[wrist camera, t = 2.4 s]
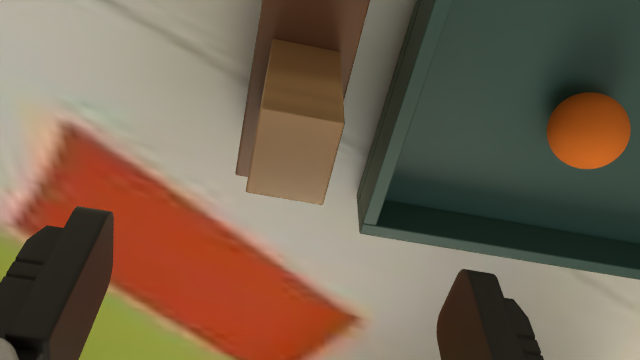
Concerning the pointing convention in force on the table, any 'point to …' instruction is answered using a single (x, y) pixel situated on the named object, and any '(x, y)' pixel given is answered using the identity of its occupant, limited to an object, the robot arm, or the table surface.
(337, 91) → the brush
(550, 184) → the tray
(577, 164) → the ball
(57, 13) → the table surface
